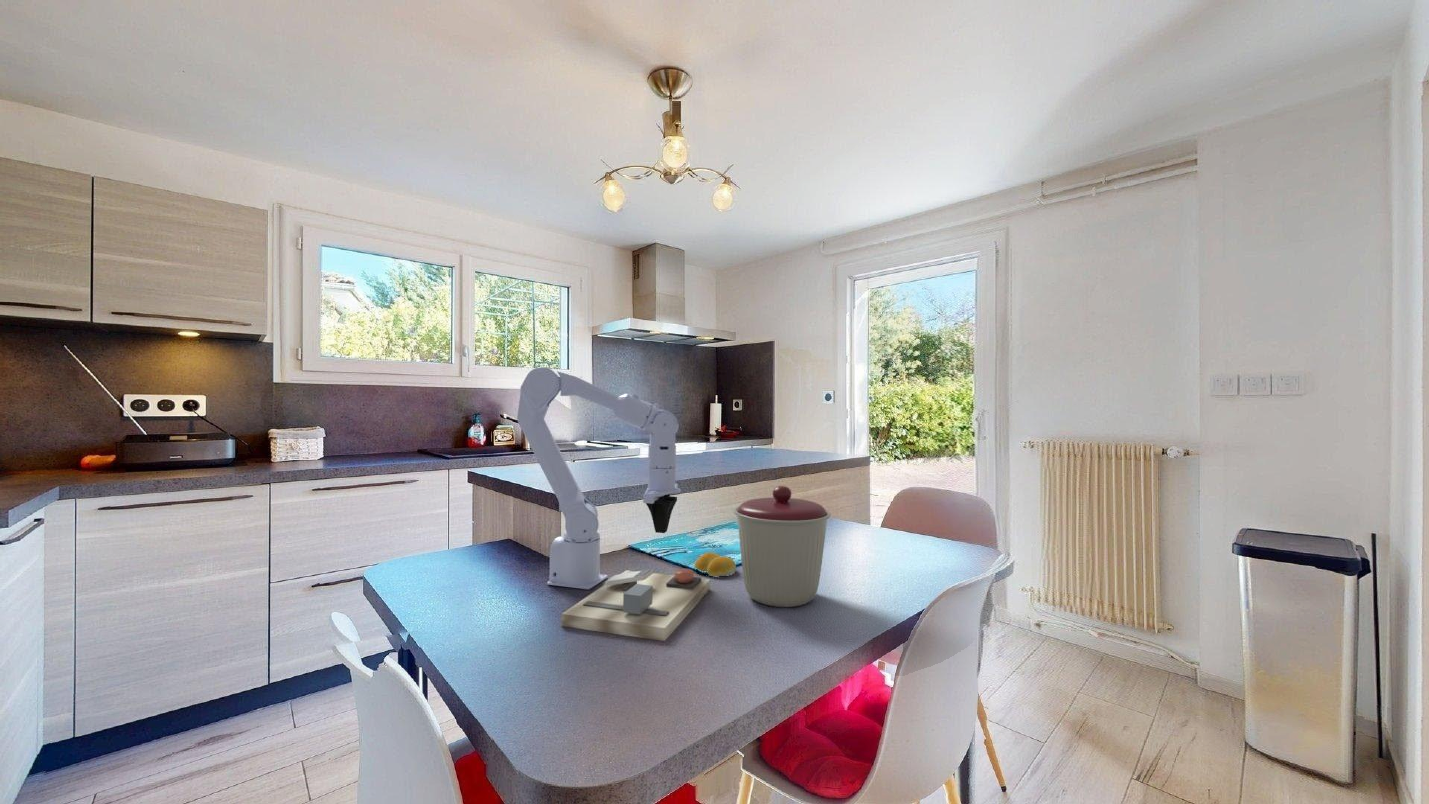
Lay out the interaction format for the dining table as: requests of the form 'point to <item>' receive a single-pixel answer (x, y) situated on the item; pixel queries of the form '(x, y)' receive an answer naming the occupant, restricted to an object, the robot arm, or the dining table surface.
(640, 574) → the grey rocker
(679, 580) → the red push button
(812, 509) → the canister
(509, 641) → the dining table surface
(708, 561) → the double yolk fried egg
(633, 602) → the grey rectangular block
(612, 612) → the switch panel
